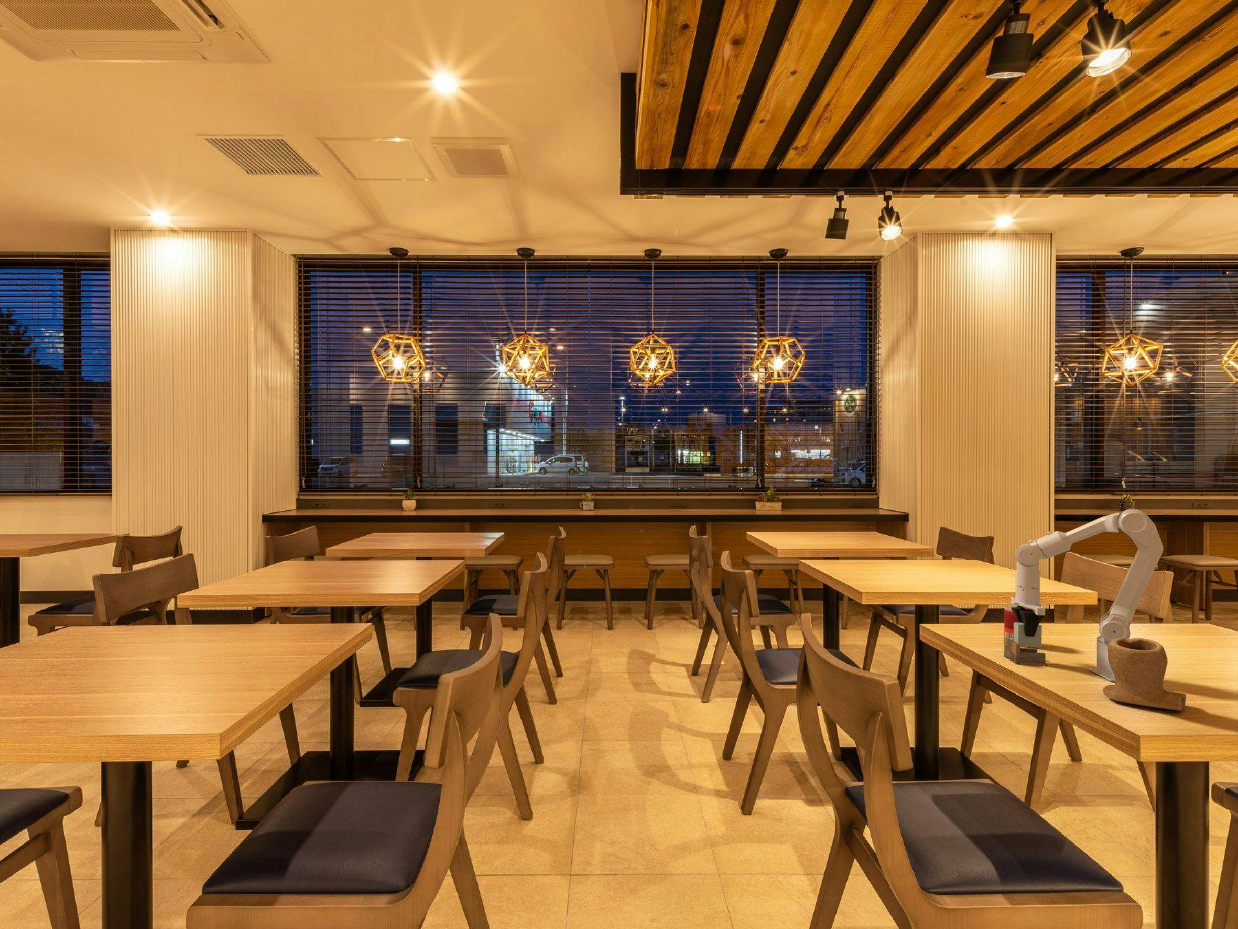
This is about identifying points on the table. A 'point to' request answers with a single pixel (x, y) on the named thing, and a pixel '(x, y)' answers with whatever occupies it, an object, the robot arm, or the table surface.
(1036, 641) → the grey square block
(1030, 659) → the grey stepped holder
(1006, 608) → the canned food
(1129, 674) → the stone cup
